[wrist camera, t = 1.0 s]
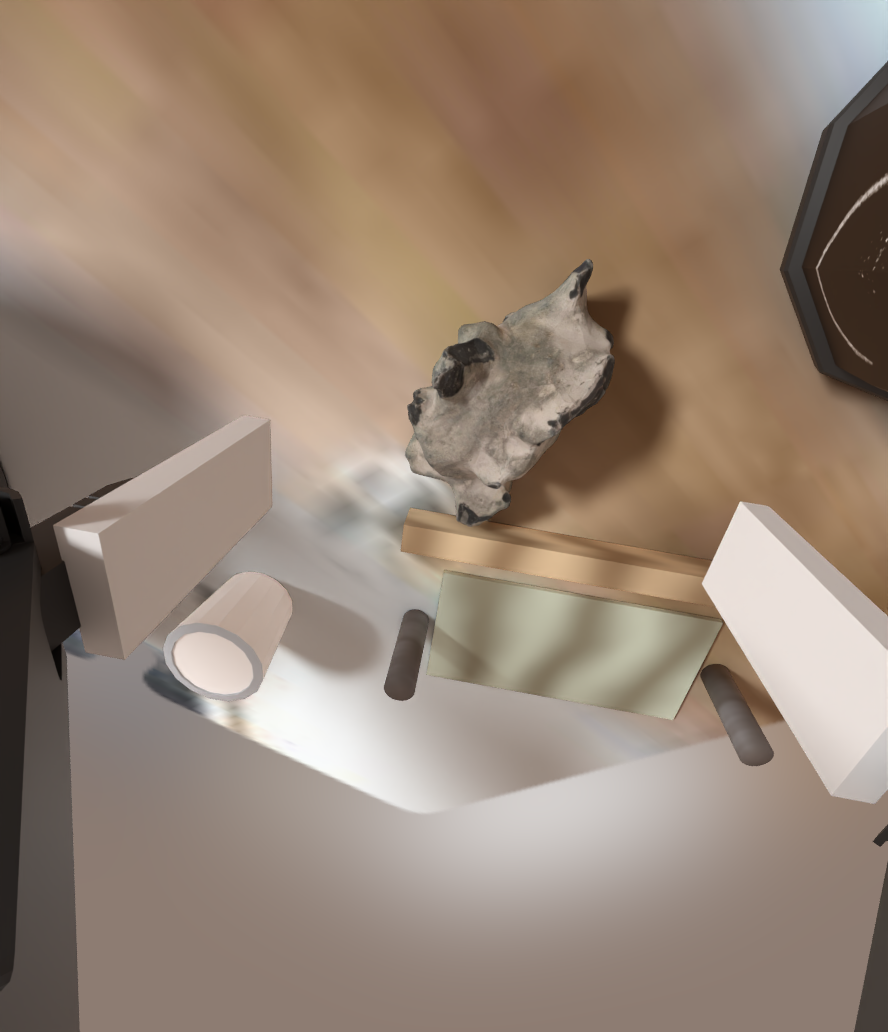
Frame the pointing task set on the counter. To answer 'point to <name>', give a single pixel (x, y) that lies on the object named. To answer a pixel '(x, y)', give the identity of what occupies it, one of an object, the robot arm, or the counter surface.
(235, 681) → the shot glass
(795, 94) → the counter surface
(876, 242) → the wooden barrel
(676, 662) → the grey tray with pegs
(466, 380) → the decorative stone
